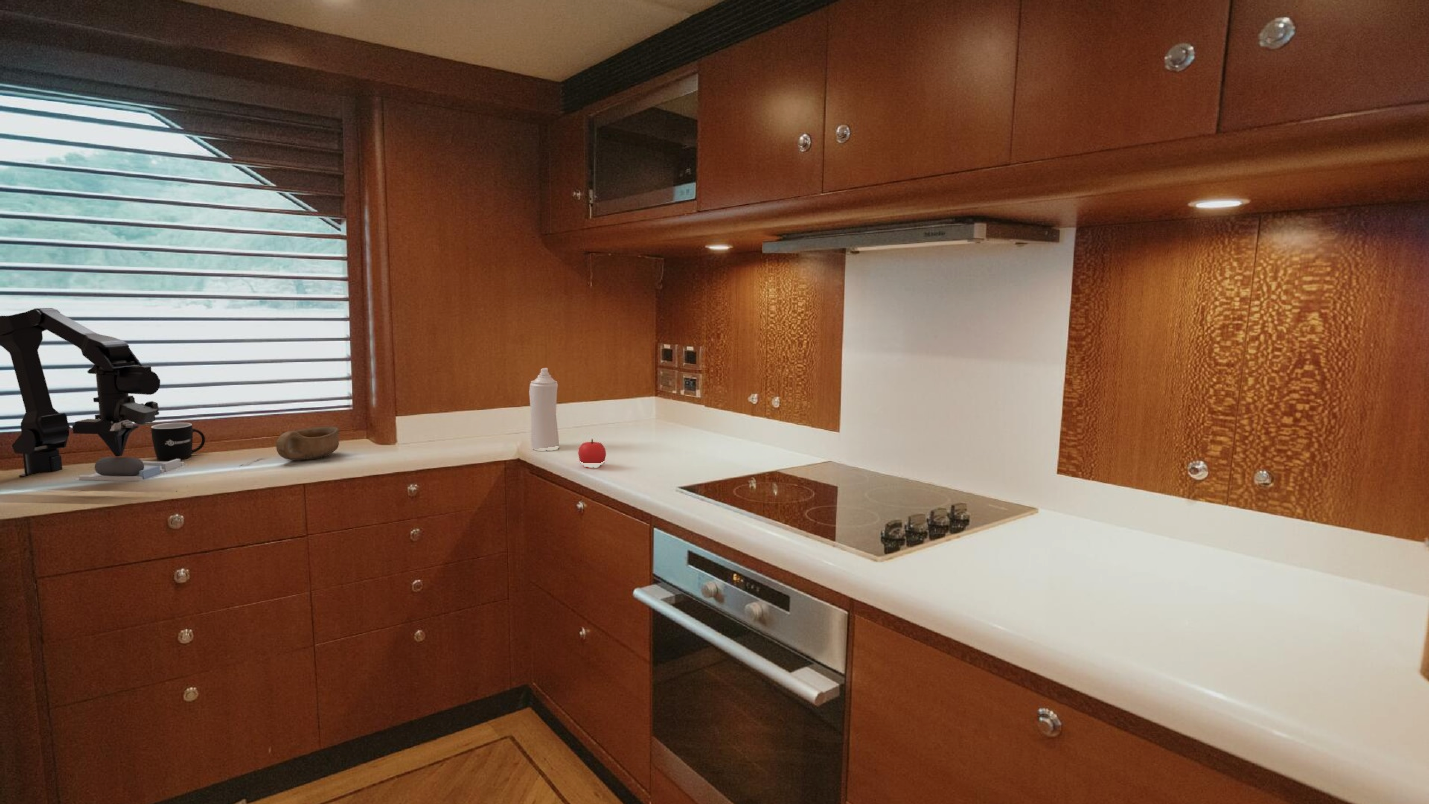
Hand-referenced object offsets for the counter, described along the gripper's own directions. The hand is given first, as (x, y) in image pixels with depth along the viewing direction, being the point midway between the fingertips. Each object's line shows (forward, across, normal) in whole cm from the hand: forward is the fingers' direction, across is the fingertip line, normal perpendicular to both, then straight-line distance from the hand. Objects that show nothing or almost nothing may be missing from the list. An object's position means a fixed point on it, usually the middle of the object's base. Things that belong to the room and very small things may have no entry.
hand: (118, 456), depth 178 cm
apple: (+6, +25, -112) cm, 114 cm away
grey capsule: (+5, 0, 0) cm, 5 cm away
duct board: (+6, +4, 0) cm, 7 cm away
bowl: (+6, +27, -32) cm, 42 cm away
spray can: (+6, +49, -94) cm, 106 cm away
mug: (+6, +21, 0) cm, 22 cm away
